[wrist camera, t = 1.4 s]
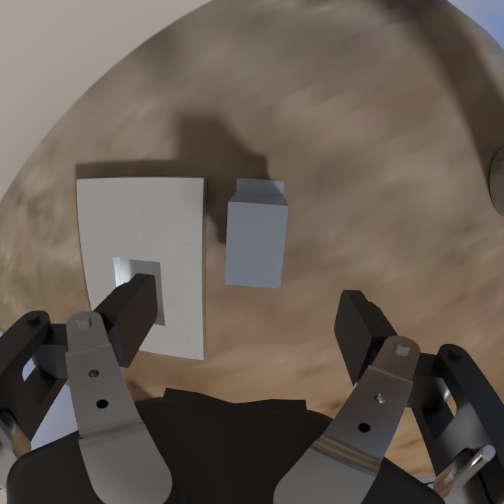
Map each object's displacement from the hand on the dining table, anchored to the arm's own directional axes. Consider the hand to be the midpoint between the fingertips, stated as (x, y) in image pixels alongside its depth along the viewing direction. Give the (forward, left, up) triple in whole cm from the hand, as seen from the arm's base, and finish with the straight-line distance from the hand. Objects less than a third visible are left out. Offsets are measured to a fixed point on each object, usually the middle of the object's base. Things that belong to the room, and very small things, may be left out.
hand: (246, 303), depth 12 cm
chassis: (+12, +6, -16) cm, 21 cm away
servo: (0, 0, -16) cm, 16 cm away
